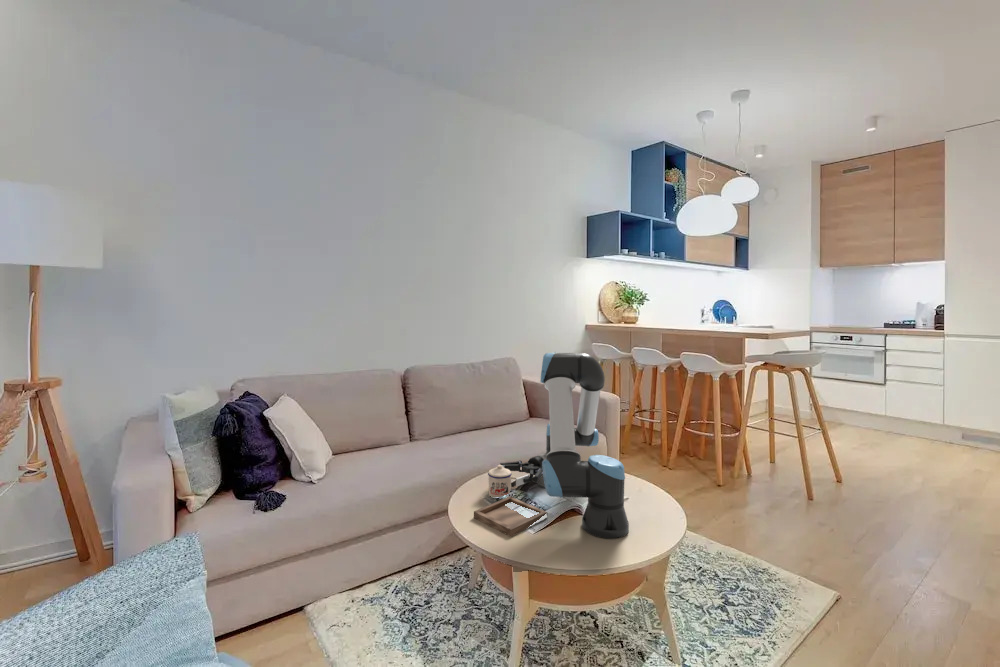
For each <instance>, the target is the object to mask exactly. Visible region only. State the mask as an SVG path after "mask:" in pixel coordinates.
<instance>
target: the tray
mask: <svg viewBox="0 0 1000 667" xmlns="http://www.w3.org/2000/svg"><path fill="white" fill-rule="evenodd" d="M509 502H513V503H515V504H517V505H520V506H522V507H525V508H528V509H531V510H534V511H536V512H539V514H537V515H534V516H532V517H530V518H526V517H524V516H523V515H521V514H519V513H518V512H517V511H514V510H511V509H510V508H508V507H507V506H505V504H507V503H509ZM546 513H547V514H548V511H546V510H543V509H541V508H539V507H536V506H533V505H532V504H529V503H527V502H525V501H522V500H520V499H517V498H516V497H512V496H509V497H507V498H505V499H499V500H498V501H496V502H493V503H491V504H488V505H486V506H483V507H481V508H478V509H476V510H473V519H475V520H477V521H478V522H480V523H483V524H485V525H487V526H488V527H489V526H490V527H491V528H493V529H495V530H497V531H499V532H501V533H503V534H505V535H506V536H509V537H510V536H511V537H513V536H515V535H517V534H519V533H521V532H523V531H525V530H528V529H529V528H530V527H529V526H530V525H532V524H533V523H534V522H536V521H537V520H539V519H540V518H541V517H542V516H544V515H545V514H546ZM528 527H529V528H528Z"/></svg>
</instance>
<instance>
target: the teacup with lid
mask: <svg viewBox="0 0 1000 667" xmlns="http://www.w3.org/2000/svg"><path fill="white" fill-rule="evenodd" d="M487 475H488V496H489V497H490V496H492V497H501V496H504V495H507V494H509V493H510V491H511V492H512V490H516V489H517V488H518V487H519V486H516V485H514V486H512V479H513V480H516V479H517V478H518V477H516V476H512V471H510V470H509V469H506V468H504V467H502V465H500V464H497V466H495V467H494V468H491V469H489V471H488V472H487ZM492 497H491V498H492Z"/></svg>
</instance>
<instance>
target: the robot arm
mask: <svg viewBox="0 0 1000 667" xmlns="http://www.w3.org/2000/svg"><path fill="white" fill-rule="evenodd" d="M605 380H606V378H605V372H604V369H603V367H602V365H601V363H599V361H598V360H597V359H596V358H595V357H594V356H592V355H591V354H589V353H586V352H556V351H554V352H546V353H545V354H543V357H542V363H541V373H540V383H541V384H543V385H544V389H545V390H547V391H548V411H549V412H548V413H549V423H548V424H547V426H546V434H545V436H546V440H545V441H546V442H545V443H546V448H545V452H544V453H542V454H538V455H535V456H532V457H530V458H529V459H528V461H527V462H523V460H521V459H520V460H517V461H509V462H507V461H506V462H500V463H499V465H502V467H504V468H506V469H509V470H510V471H511V472H519V473H526V474H525V475H523V476H520V477H517V479H515V486H518V487H520V486H521V485H524V484H528V483H535V484H537V483H538V482H539V481H540V479H541V478H542V477H543V484H544V489H545V492H546V494H547V495H548V496H549V497H557V498H559V499H561V498H585V499H586V498H587V504H586V507H585V510H584V512H583V516H582V518H581V519H582V520H581V522H582V523H581V525H582V529H583V530H584V531H585V532H586V533H587V534H590V535H591V536H595V537H597V538H601V537H603V538H602V539H618V537H620V538H623V537H625V536H626V535H627V534H628V533H629V531H630V530H629V529H630V522H629V521H628V516H627V513H626V510H625V480H626V476H625V475H626V474H625V465H624V464H623V463H622V462H621V461H620V460H619V459H616V458H614V457H610V456H608V455H603V454H594V455H593V454H592V455H590V456H588V459H587V460H582V458H581V454H580V453H579V452H578V451H577V450H576V447H596V446H598V444H599V439H600V438H599V437H600V436H599V435H600V434H599V431H598V429H597V428H596V423H597V416H598V409H599V402H600V397H601V396H600V395H601V390H603V388H604V387H605ZM576 384H579V387H580V395H579V404H578V414H577V422H576V427H575V421H574V420H575V419H574V405H573V404H574V403H573V390H574V389H575V388H576ZM624 535H625V536H624ZM622 536H623V537H622Z"/></svg>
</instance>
